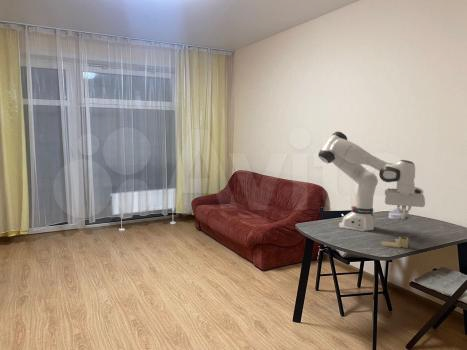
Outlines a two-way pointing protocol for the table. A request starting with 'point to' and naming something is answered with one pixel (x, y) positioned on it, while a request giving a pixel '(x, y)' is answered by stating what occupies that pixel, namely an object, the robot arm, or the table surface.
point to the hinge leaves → (397, 243)
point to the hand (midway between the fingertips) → (403, 213)
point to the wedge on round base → (395, 214)
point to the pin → (403, 212)
